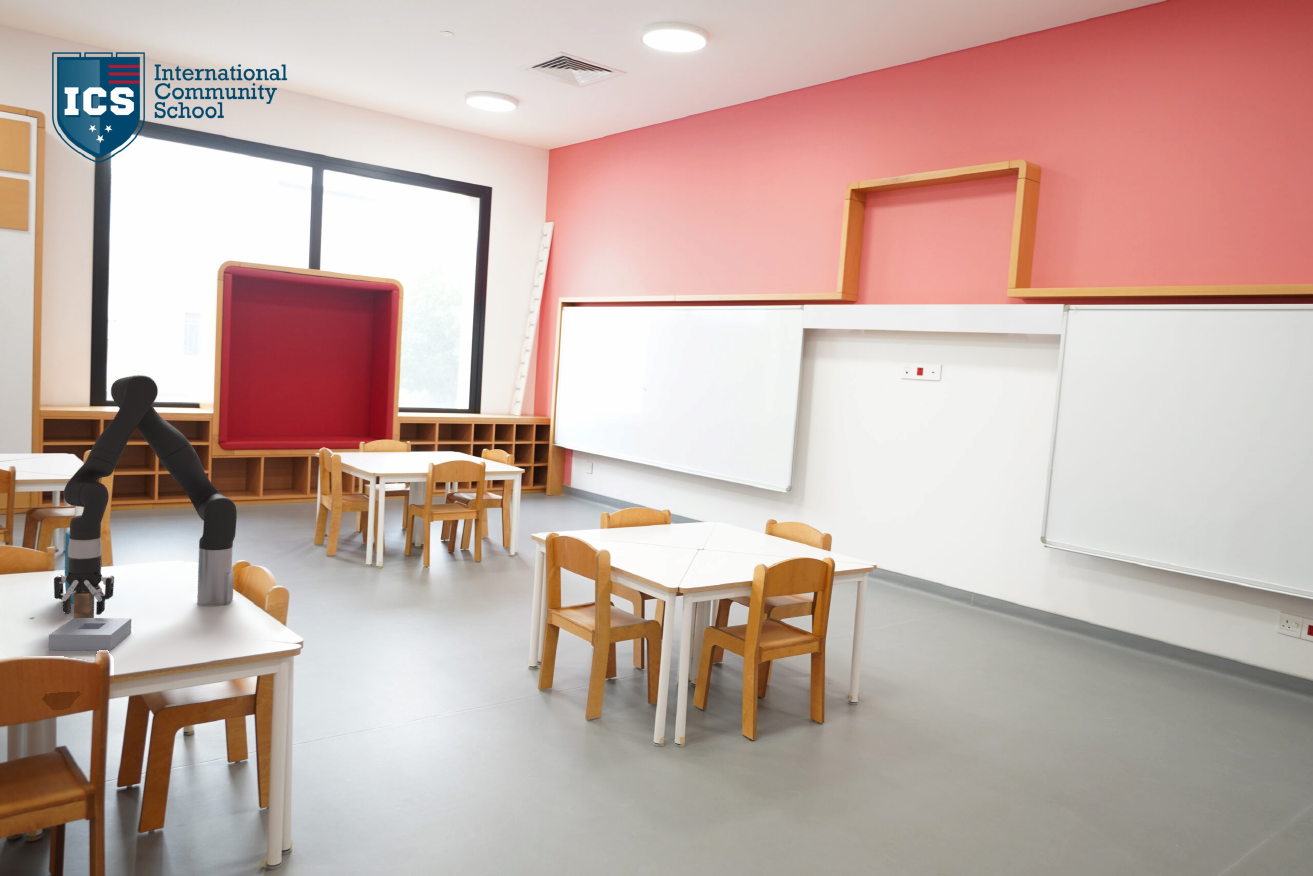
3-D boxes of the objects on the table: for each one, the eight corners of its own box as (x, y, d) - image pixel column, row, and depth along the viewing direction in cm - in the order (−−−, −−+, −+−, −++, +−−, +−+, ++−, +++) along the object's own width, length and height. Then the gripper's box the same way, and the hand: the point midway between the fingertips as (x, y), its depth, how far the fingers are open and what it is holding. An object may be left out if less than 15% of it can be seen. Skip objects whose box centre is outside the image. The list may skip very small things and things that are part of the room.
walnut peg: (93, 625, 238) (94, 590, 237) (88, 630, 234) (88, 593, 233) (79, 625, 237) (79, 590, 236) (73, 630, 233) (73, 593, 233)
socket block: (131, 632, 235) (131, 618, 234) (110, 650, 221) (110, 634, 221) (73, 632, 231) (73, 617, 231) (48, 650, 218) (48, 634, 218)
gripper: (119, 551, 239) (118, 610, 240) (61, 550, 236) (60, 609, 237) (108, 558, 232) (107, 618, 233) (48, 556, 229) (47, 617, 230)
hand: (83, 613), depth 235 cm, fingers open, 7 cm apart
